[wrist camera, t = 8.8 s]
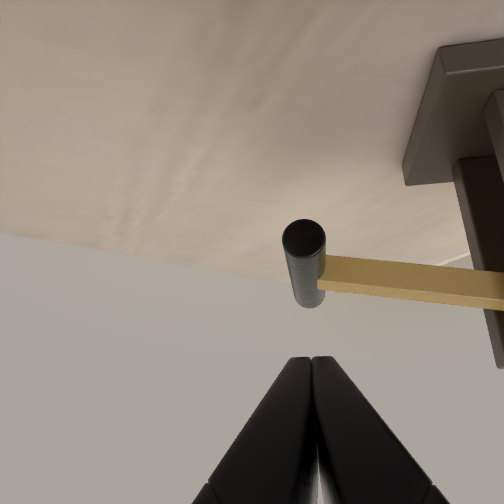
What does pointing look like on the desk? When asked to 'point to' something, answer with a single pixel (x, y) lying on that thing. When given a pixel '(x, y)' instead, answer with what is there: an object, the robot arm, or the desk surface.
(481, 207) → the lock bracket
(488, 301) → the lever
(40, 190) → the desk surface
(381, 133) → the desk surface
